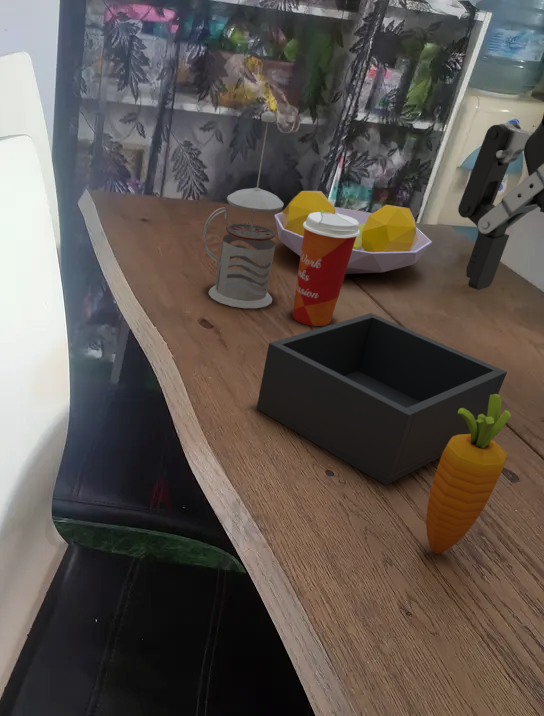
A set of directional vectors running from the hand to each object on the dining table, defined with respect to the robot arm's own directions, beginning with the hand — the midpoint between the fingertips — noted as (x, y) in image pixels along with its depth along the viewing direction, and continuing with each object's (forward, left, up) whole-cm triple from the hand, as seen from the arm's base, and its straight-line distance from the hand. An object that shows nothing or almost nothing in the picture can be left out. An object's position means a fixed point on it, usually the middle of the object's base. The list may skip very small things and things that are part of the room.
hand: (532, 306), depth 52 cm
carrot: (0, 0, -23) cm, 23 cm away
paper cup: (-32, -42, -23) cm, 57 cm away
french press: (-28, -54, -23) cm, 65 cm away
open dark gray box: (-14, -18, -22) cm, 32 cm away
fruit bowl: (-57, -57, -23) cm, 84 cm away
